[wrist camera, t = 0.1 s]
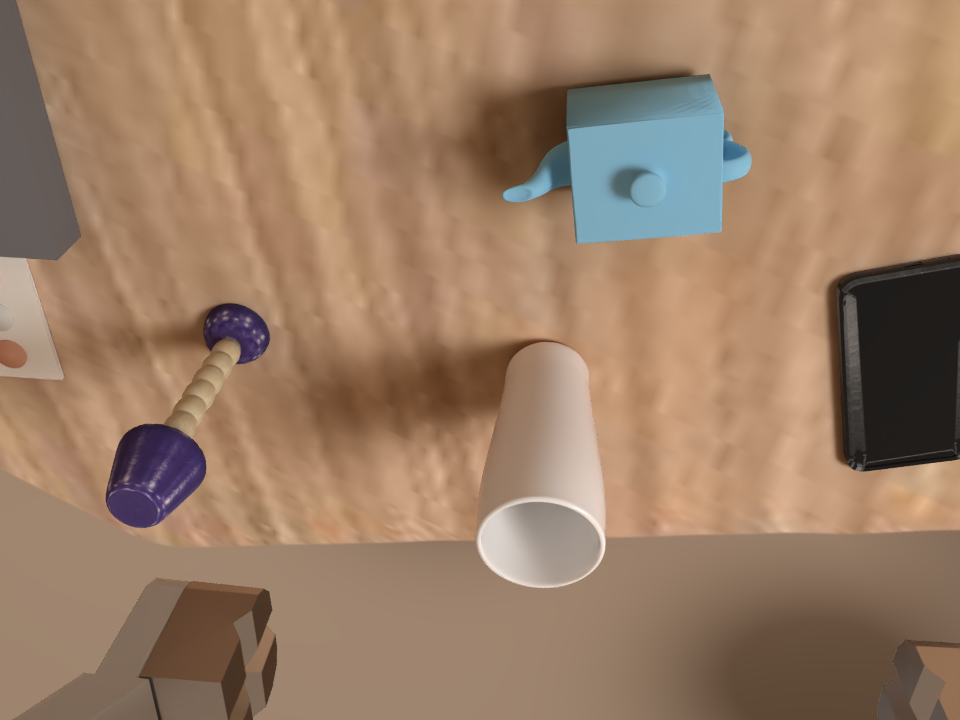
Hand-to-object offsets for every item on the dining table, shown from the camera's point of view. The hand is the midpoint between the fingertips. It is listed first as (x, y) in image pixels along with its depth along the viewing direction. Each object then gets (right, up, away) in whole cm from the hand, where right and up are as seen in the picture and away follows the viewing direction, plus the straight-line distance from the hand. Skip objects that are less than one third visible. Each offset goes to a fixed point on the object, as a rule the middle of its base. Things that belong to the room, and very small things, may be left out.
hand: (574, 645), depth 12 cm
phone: (+25, +4, +43) cm, 50 cm away
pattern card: (-33, +7, +47) cm, 57 cm away
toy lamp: (-17, +6, +46) cm, 49 cm away
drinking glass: (+3, +3, +46) cm, 46 cm away
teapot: (+6, +16, +36) cm, 40 cm away
